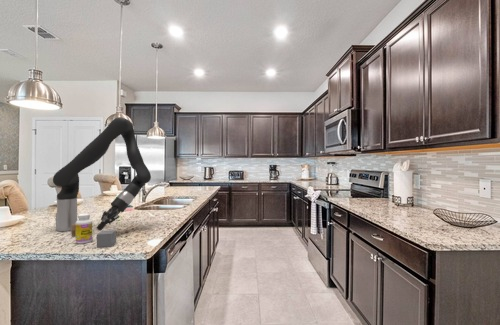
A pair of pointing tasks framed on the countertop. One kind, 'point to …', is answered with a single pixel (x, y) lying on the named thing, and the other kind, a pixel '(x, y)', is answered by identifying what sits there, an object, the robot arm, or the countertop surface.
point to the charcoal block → (106, 238)
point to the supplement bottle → (83, 229)
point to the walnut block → (73, 230)
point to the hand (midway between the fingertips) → (98, 229)
